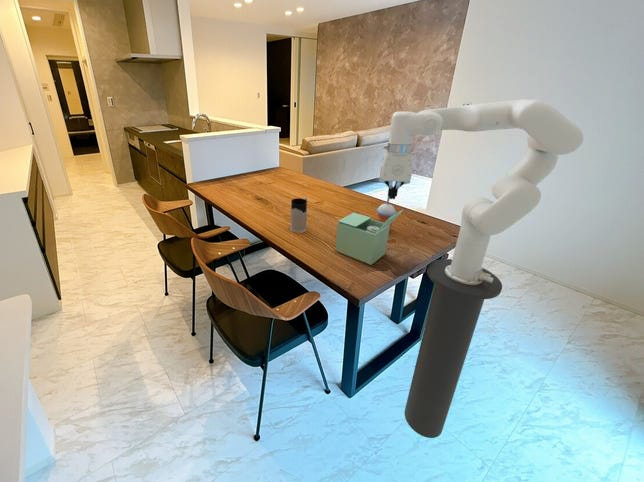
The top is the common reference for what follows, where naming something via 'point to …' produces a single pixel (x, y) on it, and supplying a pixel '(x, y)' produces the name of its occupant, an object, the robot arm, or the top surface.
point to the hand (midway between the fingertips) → (391, 197)
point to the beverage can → (372, 229)
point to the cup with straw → (385, 212)
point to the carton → (361, 238)
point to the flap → (389, 221)
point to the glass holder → (298, 215)
